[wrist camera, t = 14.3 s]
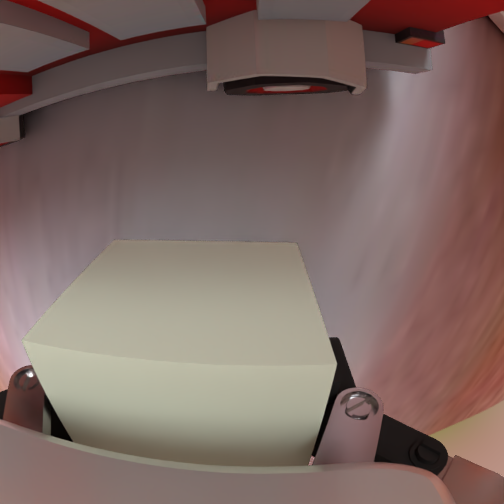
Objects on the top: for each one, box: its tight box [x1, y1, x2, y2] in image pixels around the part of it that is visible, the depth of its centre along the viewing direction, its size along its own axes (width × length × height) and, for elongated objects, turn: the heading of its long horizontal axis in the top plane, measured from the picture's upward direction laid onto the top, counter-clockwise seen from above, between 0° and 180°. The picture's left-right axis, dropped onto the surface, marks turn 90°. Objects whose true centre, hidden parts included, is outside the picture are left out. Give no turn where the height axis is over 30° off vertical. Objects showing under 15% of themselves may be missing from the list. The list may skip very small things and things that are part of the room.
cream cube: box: [21, 240, 337, 467], centre depth 9 cm, size 6×6×6 cm
